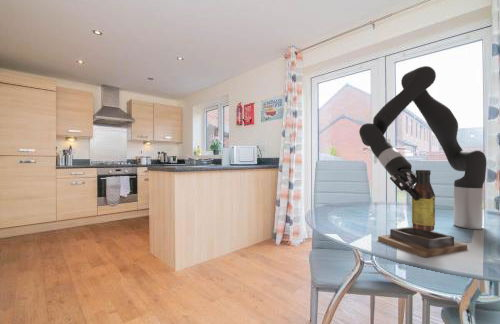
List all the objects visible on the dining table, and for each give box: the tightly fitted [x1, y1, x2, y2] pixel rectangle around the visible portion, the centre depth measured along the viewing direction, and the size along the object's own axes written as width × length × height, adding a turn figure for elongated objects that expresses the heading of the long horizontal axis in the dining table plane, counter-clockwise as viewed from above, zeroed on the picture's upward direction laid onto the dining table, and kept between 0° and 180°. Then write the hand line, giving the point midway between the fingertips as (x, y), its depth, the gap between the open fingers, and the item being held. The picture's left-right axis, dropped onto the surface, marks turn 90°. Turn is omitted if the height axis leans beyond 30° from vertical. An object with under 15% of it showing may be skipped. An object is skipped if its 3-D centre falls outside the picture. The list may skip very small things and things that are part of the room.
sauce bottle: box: [411, 169, 436, 232], centre depth 79 cm, size 7×6×20 cm
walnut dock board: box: [377, 225, 468, 259], centre depth 80 cm, size 20×16×4 cm
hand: (425, 198), depth 78 cm, fingers closed on sauce bottle, 6 cm apart
